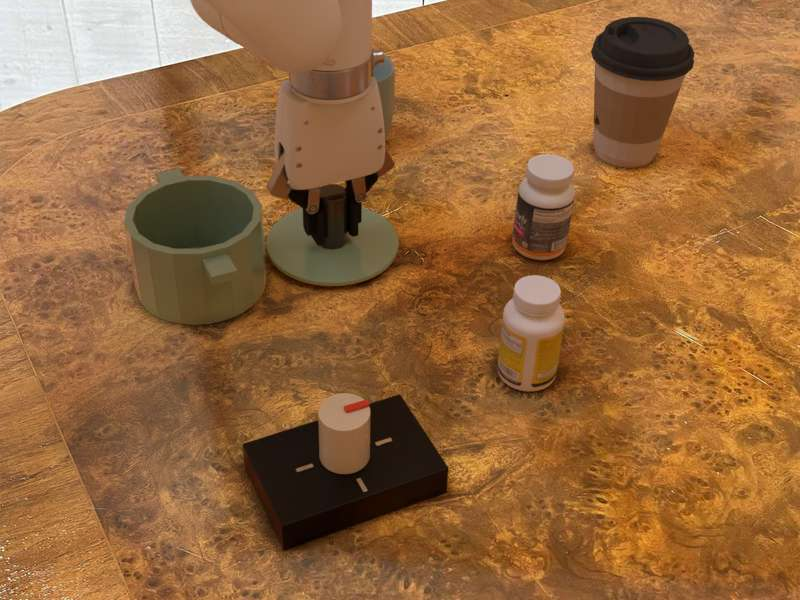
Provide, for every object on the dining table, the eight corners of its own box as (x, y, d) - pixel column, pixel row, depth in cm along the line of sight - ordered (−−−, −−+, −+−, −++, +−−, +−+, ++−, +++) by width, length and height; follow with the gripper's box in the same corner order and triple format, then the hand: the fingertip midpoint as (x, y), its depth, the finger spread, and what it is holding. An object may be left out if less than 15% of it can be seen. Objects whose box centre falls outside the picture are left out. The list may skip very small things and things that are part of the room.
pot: (164, 357, 97) (153, 285, 92) (116, 247, 109) (103, 178, 104) (294, 321, 101) (291, 250, 96) (233, 219, 114) (227, 151, 108)
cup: (387, 123, 130) (389, 48, 124) (398, 157, 124) (400, 80, 118) (323, 127, 129) (322, 51, 122) (331, 162, 123) (330, 84, 116)
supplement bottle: (557, 356, 99) (571, 274, 92) (553, 397, 95) (568, 314, 88) (499, 348, 99) (509, 265, 93) (493, 389, 95) (503, 305, 89)
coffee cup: (577, 122, 131) (595, 7, 122) (671, 132, 130) (696, 17, 121) (574, 172, 123) (593, 53, 113) (674, 183, 122) (702, 63, 112)
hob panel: (283, 551, 81) (281, 524, 79) (244, 468, 87) (242, 442, 85) (446, 492, 86) (449, 466, 84) (399, 418, 92) (400, 392, 90)
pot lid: (295, 305, 103) (292, 246, 99) (248, 228, 113) (244, 172, 108) (420, 270, 108) (423, 213, 103) (366, 200, 117) (366, 144, 113)
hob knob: (330, 480, 83) (329, 433, 79) (312, 445, 85) (310, 398, 82) (377, 465, 84) (378, 419, 81) (358, 431, 87) (358, 384, 83)
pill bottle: (507, 231, 114) (516, 151, 107) (559, 229, 114) (572, 149, 108) (517, 263, 109) (527, 182, 103) (571, 261, 110) (585, 181, 103)
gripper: (394, 38, 103) (389, 196, 114) (230, 68, 97) (244, 232, 109) (428, 72, 97) (420, 234, 109) (258, 107, 92) (269, 274, 104)
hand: (332, 232), depth 109 cm, fingers closed on pot lid, 3 cm apart
